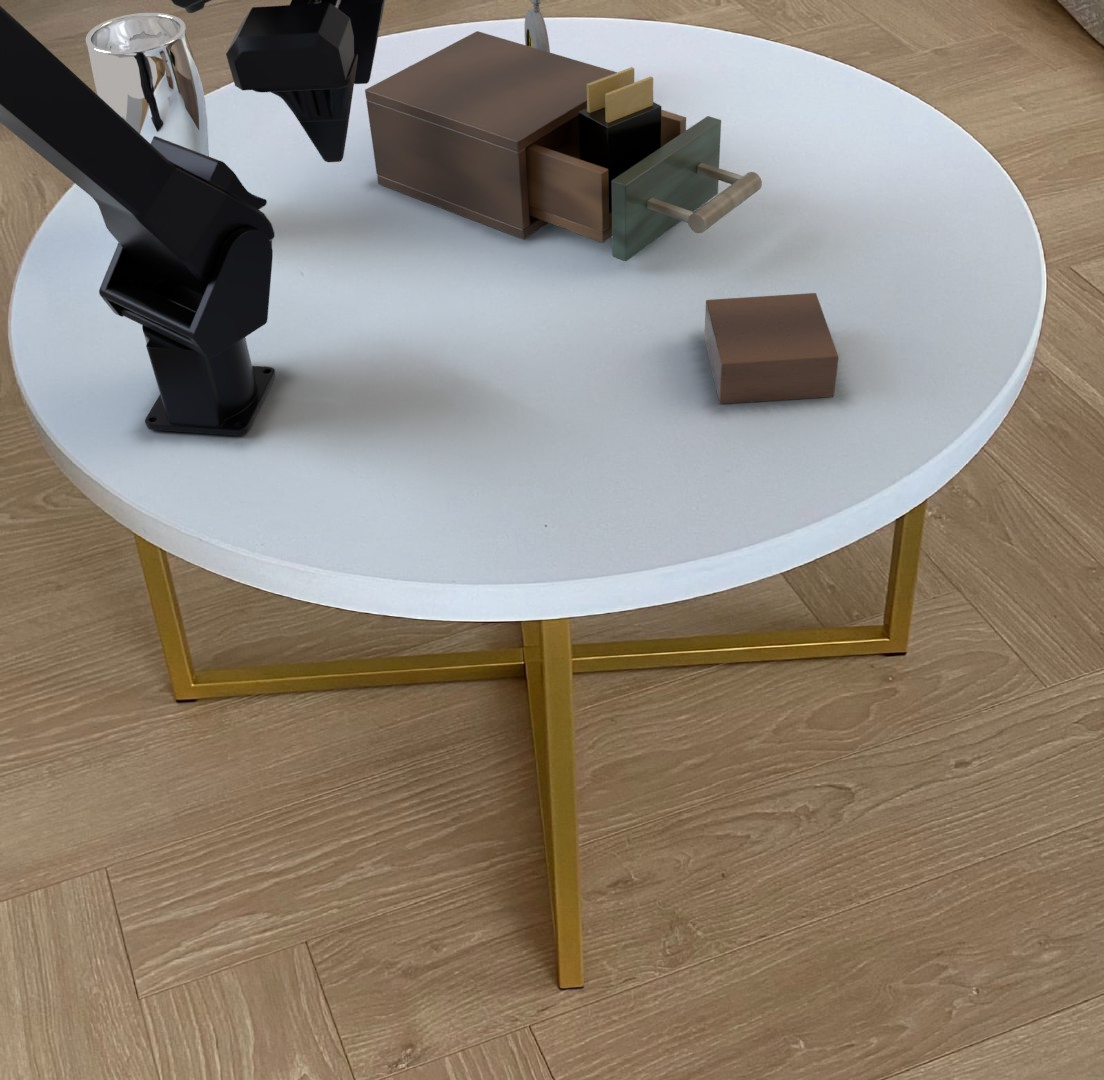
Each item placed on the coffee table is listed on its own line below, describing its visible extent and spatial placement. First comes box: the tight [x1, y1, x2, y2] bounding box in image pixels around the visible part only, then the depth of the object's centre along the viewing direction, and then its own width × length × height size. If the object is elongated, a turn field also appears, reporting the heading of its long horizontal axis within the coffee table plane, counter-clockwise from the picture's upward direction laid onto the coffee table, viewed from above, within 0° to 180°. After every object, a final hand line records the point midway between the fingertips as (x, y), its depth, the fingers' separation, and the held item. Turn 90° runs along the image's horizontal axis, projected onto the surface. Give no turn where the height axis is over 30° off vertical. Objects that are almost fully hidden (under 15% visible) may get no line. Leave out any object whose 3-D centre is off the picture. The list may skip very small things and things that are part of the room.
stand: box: [703, 292, 839, 405], centre depth 84 cm, size 7×7×3 cm
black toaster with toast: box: [579, 66, 663, 213], centre depth 95 cm, size 3×5×8 cm
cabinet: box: [364, 30, 618, 240], centre depth 102 cm, size 15×13×8 cm
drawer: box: [525, 109, 763, 262], centre depth 96 cm, size 18×11×6 cm, turn 51°
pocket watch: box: [524, 0, 551, 53], centre depth 111 cm, size 8×8×10 cm
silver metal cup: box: [85, 12, 210, 157], centre depth 95 cm, size 7×7×15 cm
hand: (348, 120), depth 84 cm, fingers open, 9 cm apart
